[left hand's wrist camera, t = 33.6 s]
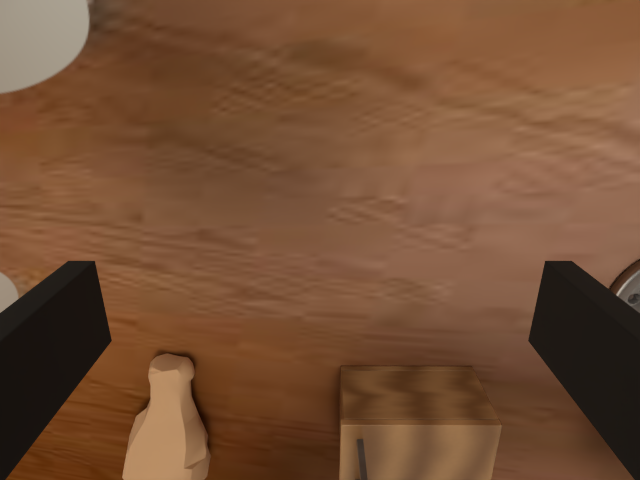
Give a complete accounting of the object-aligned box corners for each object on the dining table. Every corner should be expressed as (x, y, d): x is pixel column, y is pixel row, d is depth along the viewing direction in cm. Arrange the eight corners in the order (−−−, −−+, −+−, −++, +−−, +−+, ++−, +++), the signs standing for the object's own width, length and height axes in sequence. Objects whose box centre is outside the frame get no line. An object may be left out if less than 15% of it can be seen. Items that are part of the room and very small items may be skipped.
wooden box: (339, 429, 60) (342, 488, 51) (340, 365, 56) (344, 418, 47) (461, 429, 60) (485, 488, 51) (472, 366, 56) (499, 419, 47)
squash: (147, 463, 62) (107, 515, 53) (144, 336, 57) (100, 372, 49) (218, 477, 61) (189, 534, 52) (222, 349, 56) (191, 388, 47)
